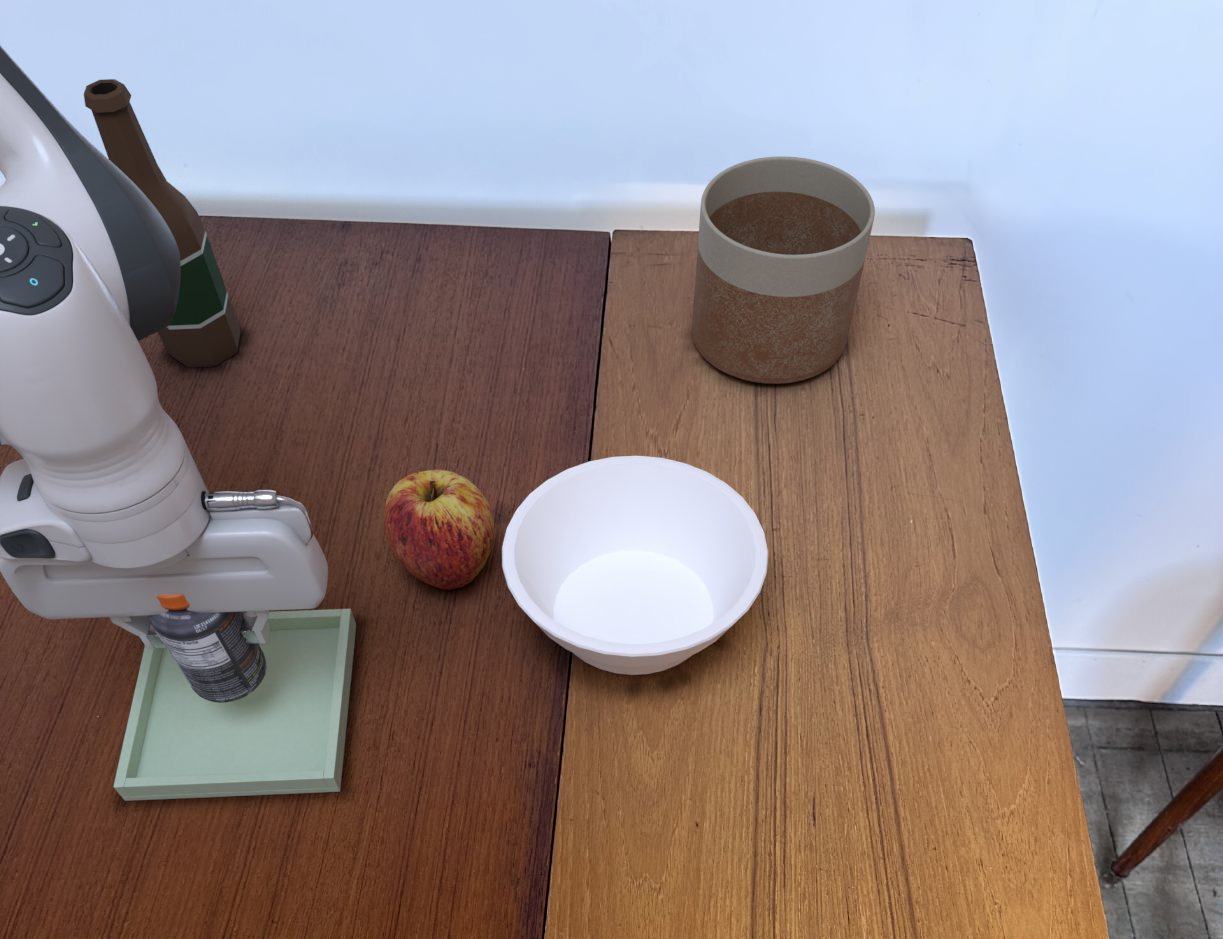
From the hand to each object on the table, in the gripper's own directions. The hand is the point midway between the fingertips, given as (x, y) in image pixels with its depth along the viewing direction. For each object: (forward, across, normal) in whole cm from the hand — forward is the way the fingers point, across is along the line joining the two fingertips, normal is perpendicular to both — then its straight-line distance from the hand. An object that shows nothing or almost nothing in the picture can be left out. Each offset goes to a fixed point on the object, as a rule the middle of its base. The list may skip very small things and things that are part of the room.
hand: (209, 639), depth 75 cm
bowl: (+9, -32, -8) cm, 34 cm away
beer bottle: (+9, +10, -46) cm, 48 cm away
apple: (+9, -16, -14) cm, 23 cm away
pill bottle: (+4, 0, 0) cm, 4 cm away
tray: (+9, 0, 0) cm, 9 cm away
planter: (+9, -48, -44) cm, 66 cm away
